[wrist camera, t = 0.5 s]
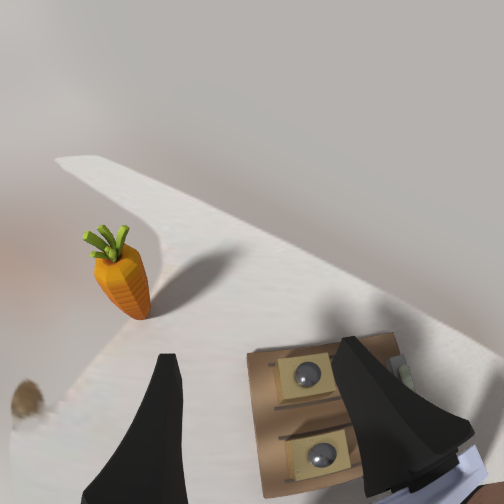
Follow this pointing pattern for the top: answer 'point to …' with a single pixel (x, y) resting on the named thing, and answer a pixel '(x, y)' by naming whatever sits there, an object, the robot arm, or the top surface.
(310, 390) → the slide
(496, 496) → the travel mug
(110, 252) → the carrot
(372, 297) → the top surface
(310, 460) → the slide
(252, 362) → the base
